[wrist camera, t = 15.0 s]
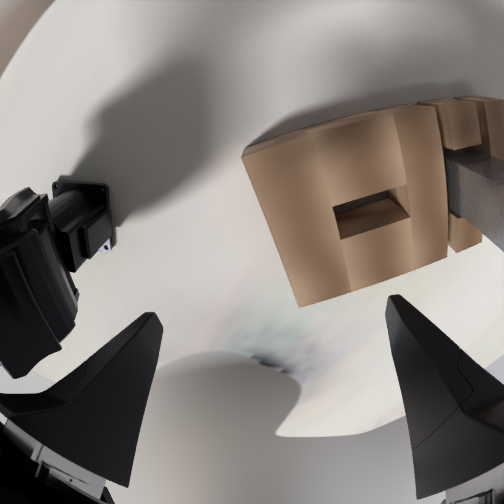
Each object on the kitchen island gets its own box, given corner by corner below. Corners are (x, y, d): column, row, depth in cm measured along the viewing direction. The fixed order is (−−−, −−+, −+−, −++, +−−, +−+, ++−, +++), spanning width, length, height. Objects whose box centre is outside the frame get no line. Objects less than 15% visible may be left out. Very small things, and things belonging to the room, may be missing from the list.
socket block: (294, 278, 24) (298, 307, 21) (244, 147, 18) (241, 157, 15) (486, 211, 20) (509, 229, 16) (476, 95, 14) (505, 100, 11)
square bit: (429, 193, 19) (545, 295, 7) (423, 149, 18) (563, 227, 5) (460, 184, 19) (573, 269, 6) (456, 142, 17) (587, 208, 4)
